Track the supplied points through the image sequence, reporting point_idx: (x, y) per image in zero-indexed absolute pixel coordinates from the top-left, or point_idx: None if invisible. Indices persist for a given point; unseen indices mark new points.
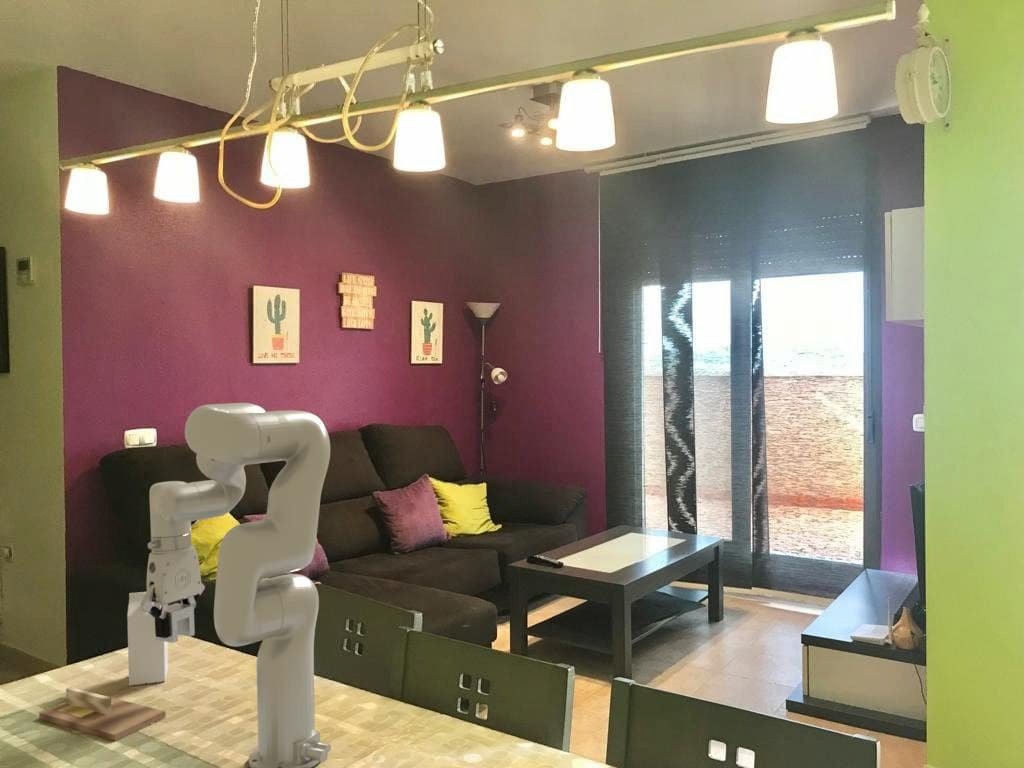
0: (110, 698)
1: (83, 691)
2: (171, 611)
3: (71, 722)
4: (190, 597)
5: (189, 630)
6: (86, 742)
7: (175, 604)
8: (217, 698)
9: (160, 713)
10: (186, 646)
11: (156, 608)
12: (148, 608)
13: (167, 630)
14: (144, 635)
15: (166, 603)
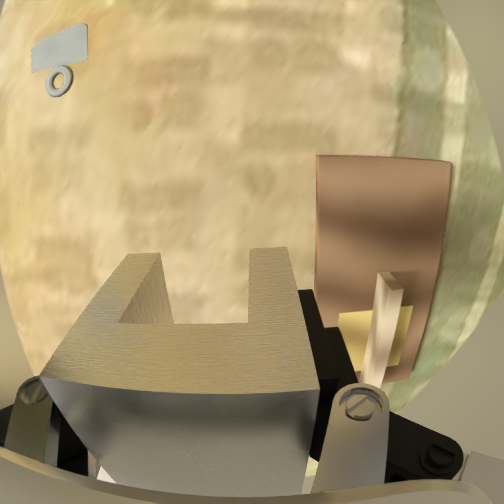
0: (392, 288)
1: (380, 367)
2: (285, 416)
3: (430, 300)
4: (27, 456)
5: (149, 272)
6: (460, 212)
7: (133, 481)
8: (160, 137)
9: (334, 158)
10: None
11: (430, 466)
12: (490, 462)
13: (311, 312)
14: None
15: (425, 480)
